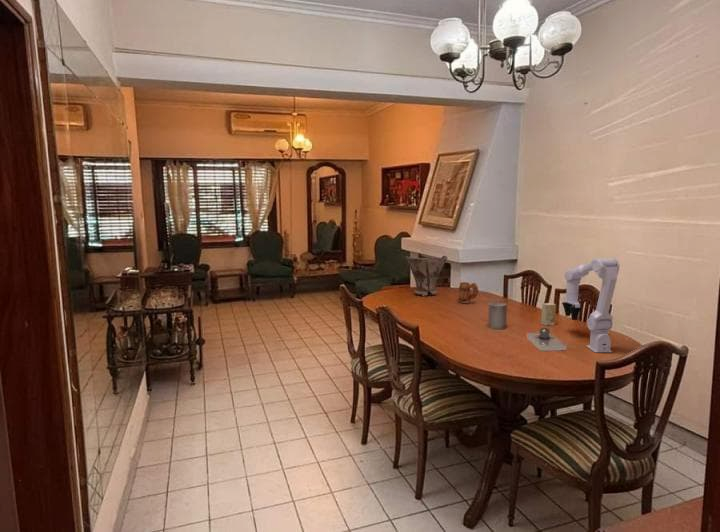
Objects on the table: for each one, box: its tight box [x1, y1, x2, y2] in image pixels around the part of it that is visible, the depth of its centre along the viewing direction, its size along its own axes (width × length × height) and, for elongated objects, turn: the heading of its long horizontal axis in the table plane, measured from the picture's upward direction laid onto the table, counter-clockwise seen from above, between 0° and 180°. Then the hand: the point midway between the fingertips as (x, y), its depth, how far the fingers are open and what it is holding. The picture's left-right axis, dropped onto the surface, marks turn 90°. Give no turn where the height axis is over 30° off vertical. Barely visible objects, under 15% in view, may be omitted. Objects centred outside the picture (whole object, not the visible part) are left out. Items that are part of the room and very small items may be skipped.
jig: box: [526, 332, 567, 352], centre depth 226 cm, size 20×12×2 cm, turn 178°
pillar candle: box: [488, 301, 508, 330], centre depth 255 cm, size 10×10×15 cm
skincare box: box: [540, 302, 557, 327], centre depth 258 cm, size 6×4×12 cm
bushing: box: [539, 327, 550, 340], centre depth 227 cm, size 4×4×7 cm
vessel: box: [405, 255, 448, 297], centre depth 341 cm, size 30×27×30 cm
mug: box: [458, 281, 479, 304], centre depth 312 cm, size 15×8×15 cm, turn 42°
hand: (570, 317), depth 238 cm, fingers open, 7 cm apart
